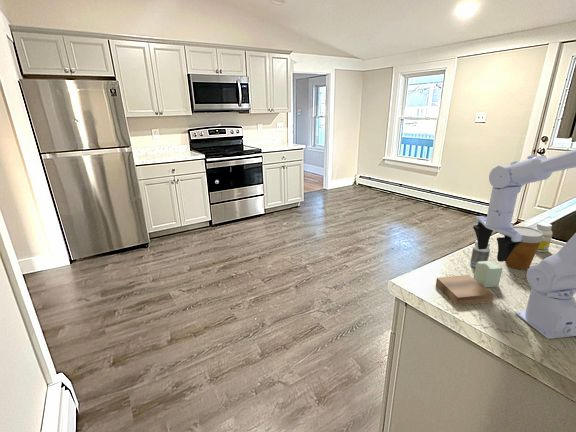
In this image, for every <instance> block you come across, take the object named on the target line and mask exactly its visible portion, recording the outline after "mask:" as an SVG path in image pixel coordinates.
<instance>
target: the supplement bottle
mask: <svg viewBox="0 0 576 432" xmlns="http://www.w3.org/2000/svg"><path fill="white" fill-rule="evenodd" d="M552 227H553V225H552V224H550V223H549V222H544V221H543V222H542V221H541V222H537V224H536V227H535V228H534V229H537V230H539V231H541V232H542V233H543V237H544V239H543V240H542V241H541V242H540V244H539V247H538V249H537V251H536V253H547V252H548V251H549V248H550V245H551V240H552V239H553V238H552V237H553V231H552Z"/></svg>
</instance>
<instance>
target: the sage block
mask: <svg viewBox="0 0 576 432" xmlns="http://www.w3.org/2000/svg"><path fill="white" fill-rule="evenodd" d="M502 272H503V267H502V266H500V265H499V264H497V263H495V262H494V261H492V260H488V261H481V262H477V263H476V267H475V269H474V275H473V278H474V279H475V280H476V281H478V282H479V283H480V284H481V285H483V286H484V287H485V288H492V287H499V286H500V285H499V284H500V280H501V276H502V274H503V273H502Z"/></svg>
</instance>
